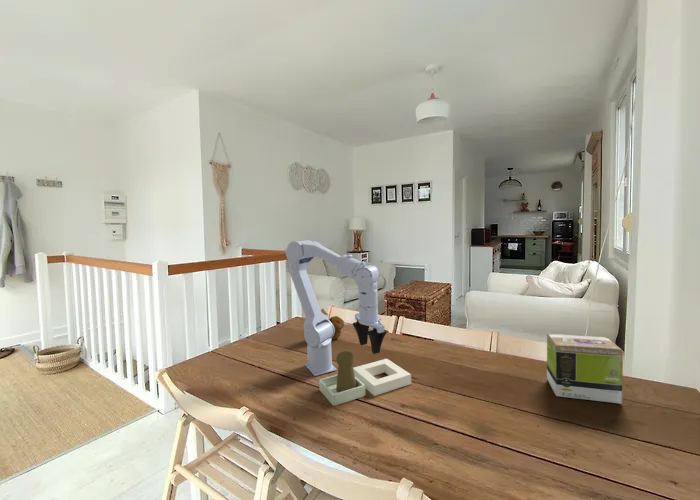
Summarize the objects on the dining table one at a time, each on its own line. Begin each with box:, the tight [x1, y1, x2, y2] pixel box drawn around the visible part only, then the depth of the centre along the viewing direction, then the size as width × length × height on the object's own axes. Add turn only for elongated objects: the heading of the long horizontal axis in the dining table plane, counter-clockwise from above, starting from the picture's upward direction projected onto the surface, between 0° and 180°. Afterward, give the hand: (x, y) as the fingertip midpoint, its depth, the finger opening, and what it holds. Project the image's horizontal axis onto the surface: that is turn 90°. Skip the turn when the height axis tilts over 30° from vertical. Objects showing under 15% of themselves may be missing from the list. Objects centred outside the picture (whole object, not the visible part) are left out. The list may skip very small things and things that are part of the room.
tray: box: [318, 373, 366, 407], centre depth 94 cm, size 10×10×3 cm
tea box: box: [546, 333, 624, 405], centre depth 89 cm, size 15×10×15 cm
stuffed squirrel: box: [316, 308, 345, 341], centre depth 135 cm, size 10×14×13 cm
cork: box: [335, 350, 357, 393], centre depth 94 cm, size 6×6×11 cm
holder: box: [353, 358, 412, 397], centre depth 100 cm, size 13×13×3 cm
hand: (369, 348), depth 99 cm, fingers open, 7 cm apart
